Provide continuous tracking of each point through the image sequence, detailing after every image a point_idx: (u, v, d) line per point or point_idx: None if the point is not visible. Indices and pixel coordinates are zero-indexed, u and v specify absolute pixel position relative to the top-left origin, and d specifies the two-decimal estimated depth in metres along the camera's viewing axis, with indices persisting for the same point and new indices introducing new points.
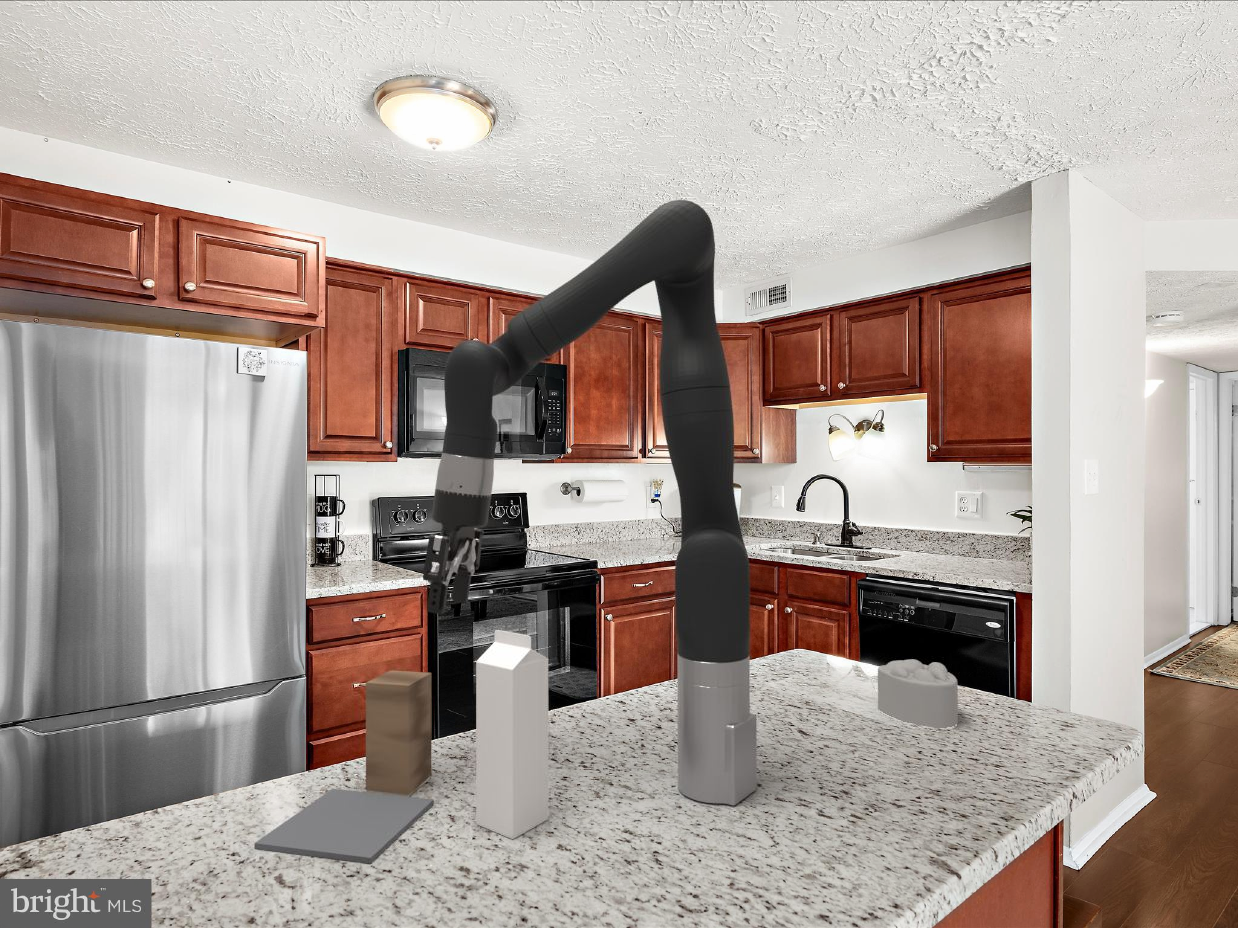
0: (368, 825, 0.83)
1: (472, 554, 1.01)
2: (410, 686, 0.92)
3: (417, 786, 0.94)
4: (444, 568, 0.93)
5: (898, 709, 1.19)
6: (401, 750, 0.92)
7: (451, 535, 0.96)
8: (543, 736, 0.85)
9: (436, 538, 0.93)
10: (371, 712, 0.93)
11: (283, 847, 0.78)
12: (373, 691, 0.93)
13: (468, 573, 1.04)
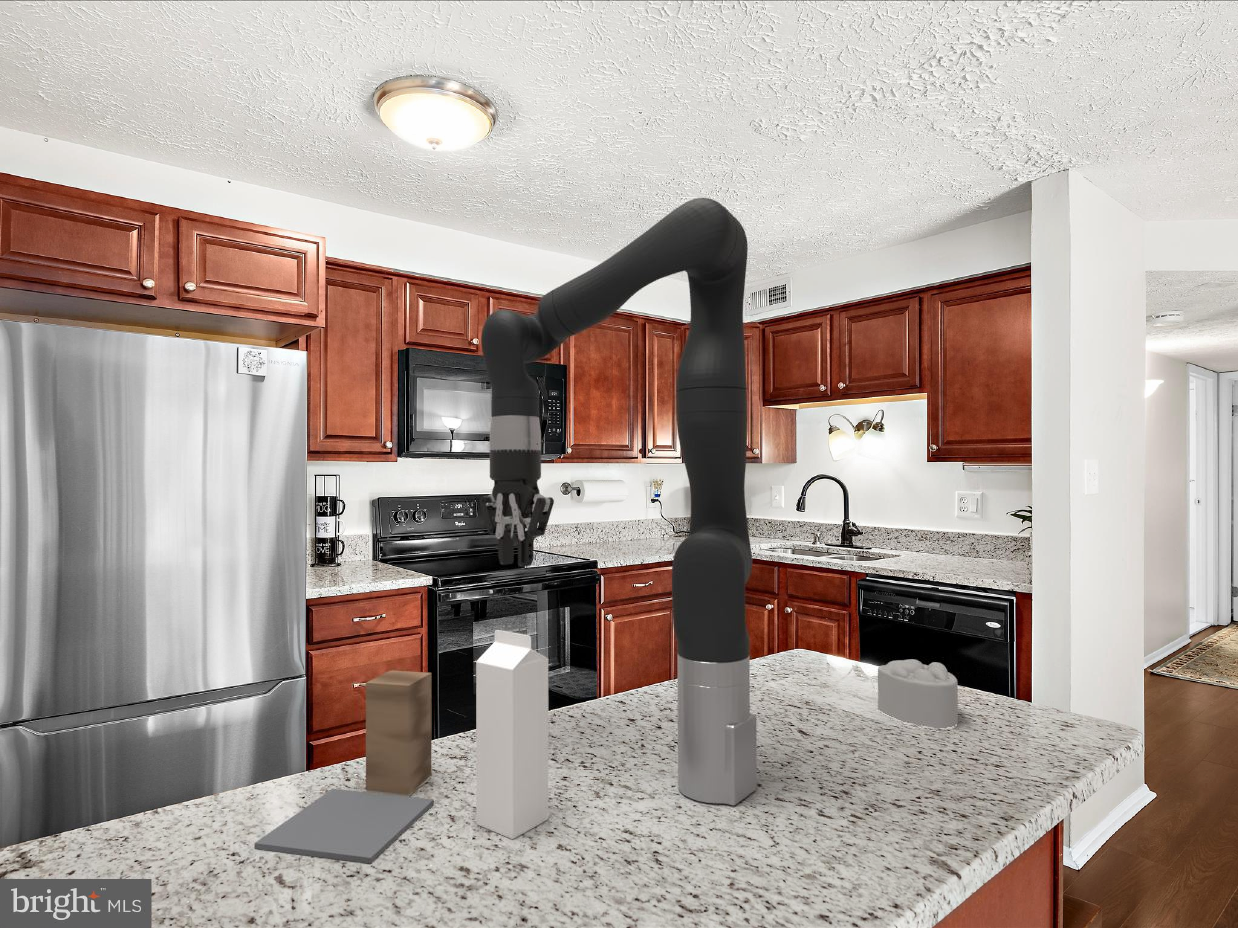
0: (368, 825, 0.83)
1: None
2: (410, 686, 0.92)
3: (417, 786, 0.94)
4: None
5: (898, 709, 1.19)
6: (401, 750, 0.92)
7: (539, 491, 1.06)
8: (543, 736, 0.85)
9: (546, 502, 1.04)
10: (371, 712, 0.93)
11: (283, 847, 0.78)
12: (373, 691, 0.93)
13: (510, 535, 1.10)
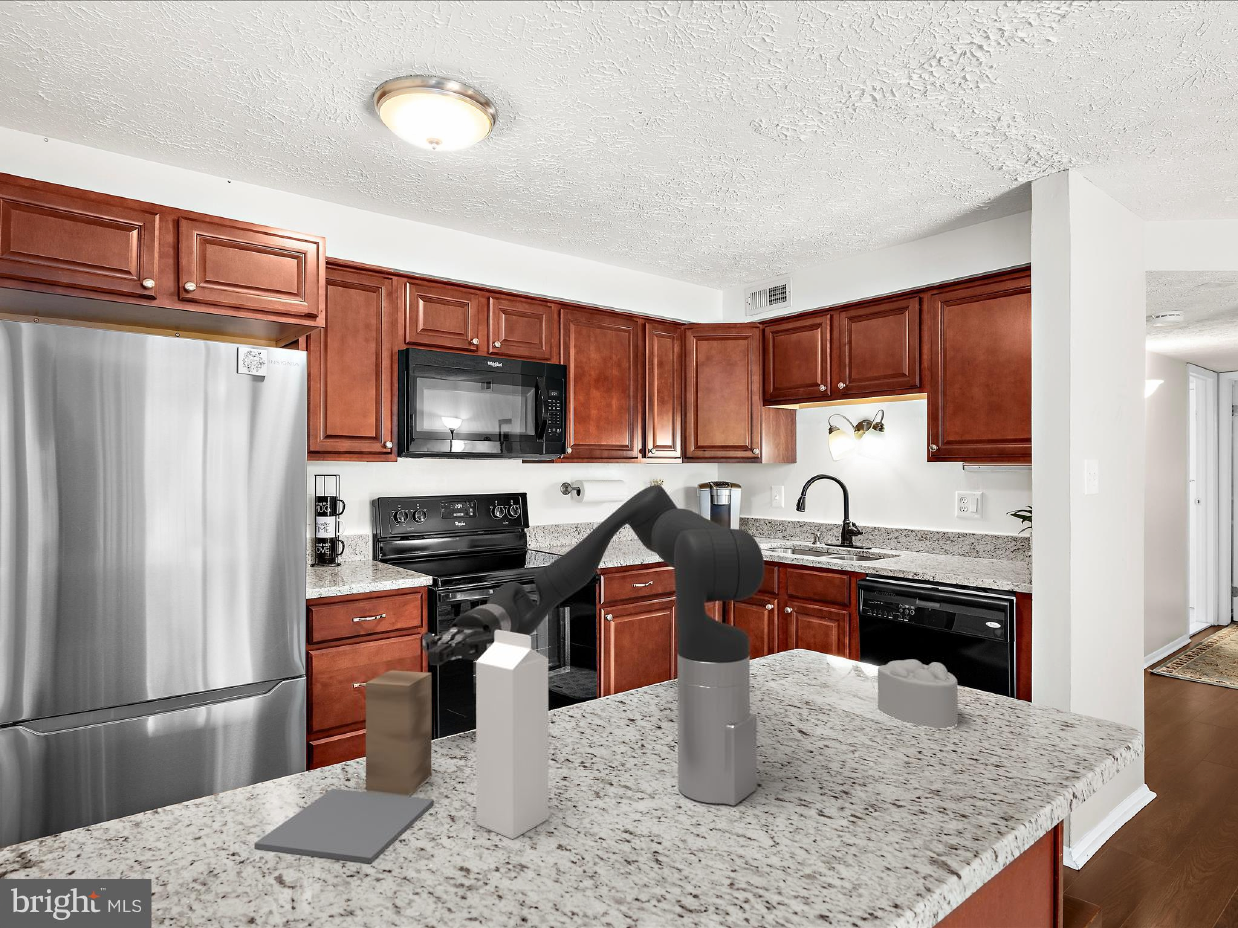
0: (368, 825, 0.83)
1: None
2: (410, 686, 0.92)
3: (417, 786, 0.94)
4: None
5: (898, 709, 1.19)
6: (401, 750, 0.92)
7: None
8: (543, 736, 0.85)
9: None
10: (371, 712, 0.93)
11: (283, 847, 0.78)
12: (373, 691, 0.93)
13: None
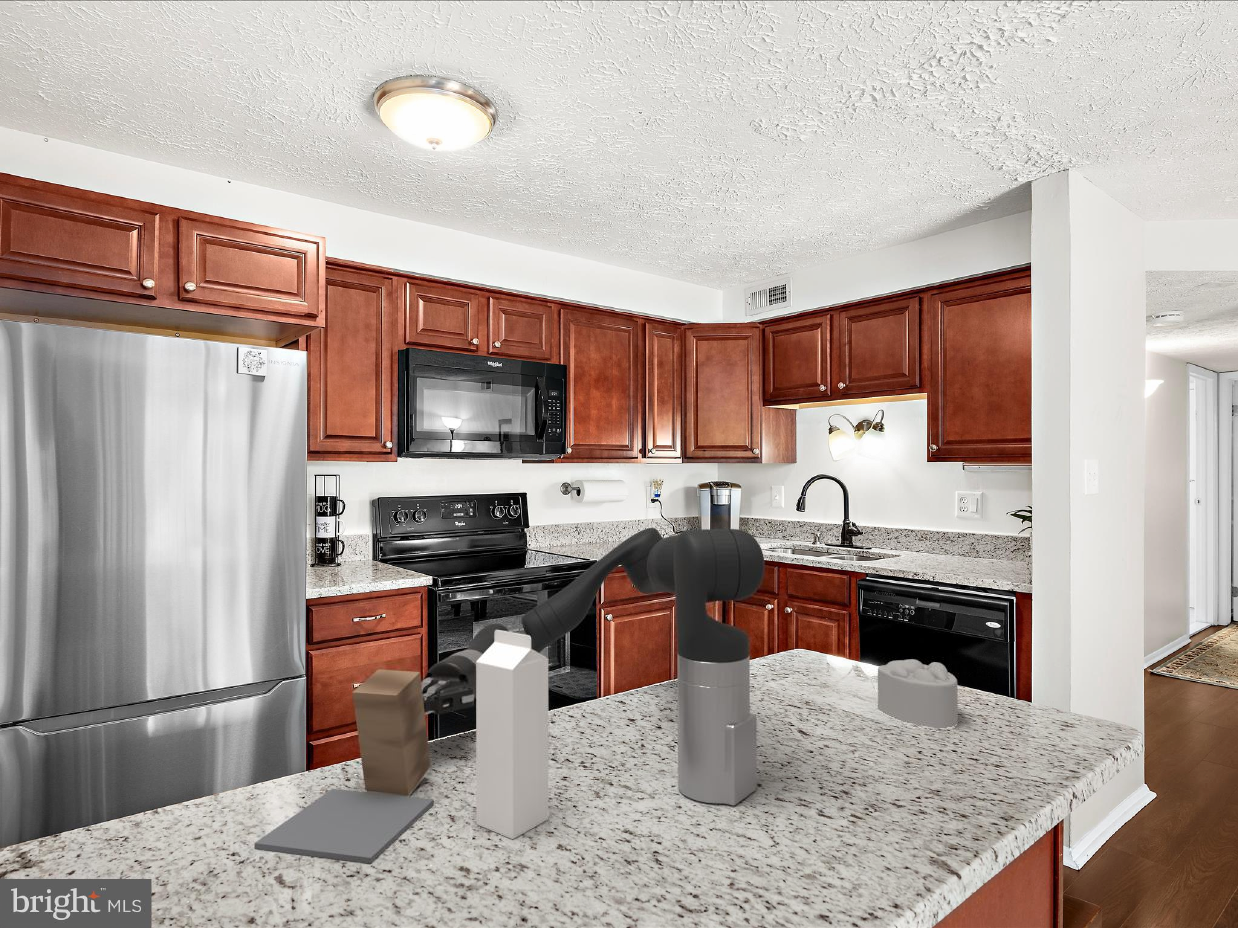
0: (368, 825, 0.83)
1: None
2: (398, 695, 0.89)
3: (416, 783, 0.94)
4: None
5: (898, 709, 1.19)
6: (396, 755, 0.91)
7: None
8: (543, 736, 0.85)
9: (472, 696, 1.04)
10: (361, 720, 0.91)
11: (283, 847, 0.78)
12: (361, 700, 0.90)
13: None
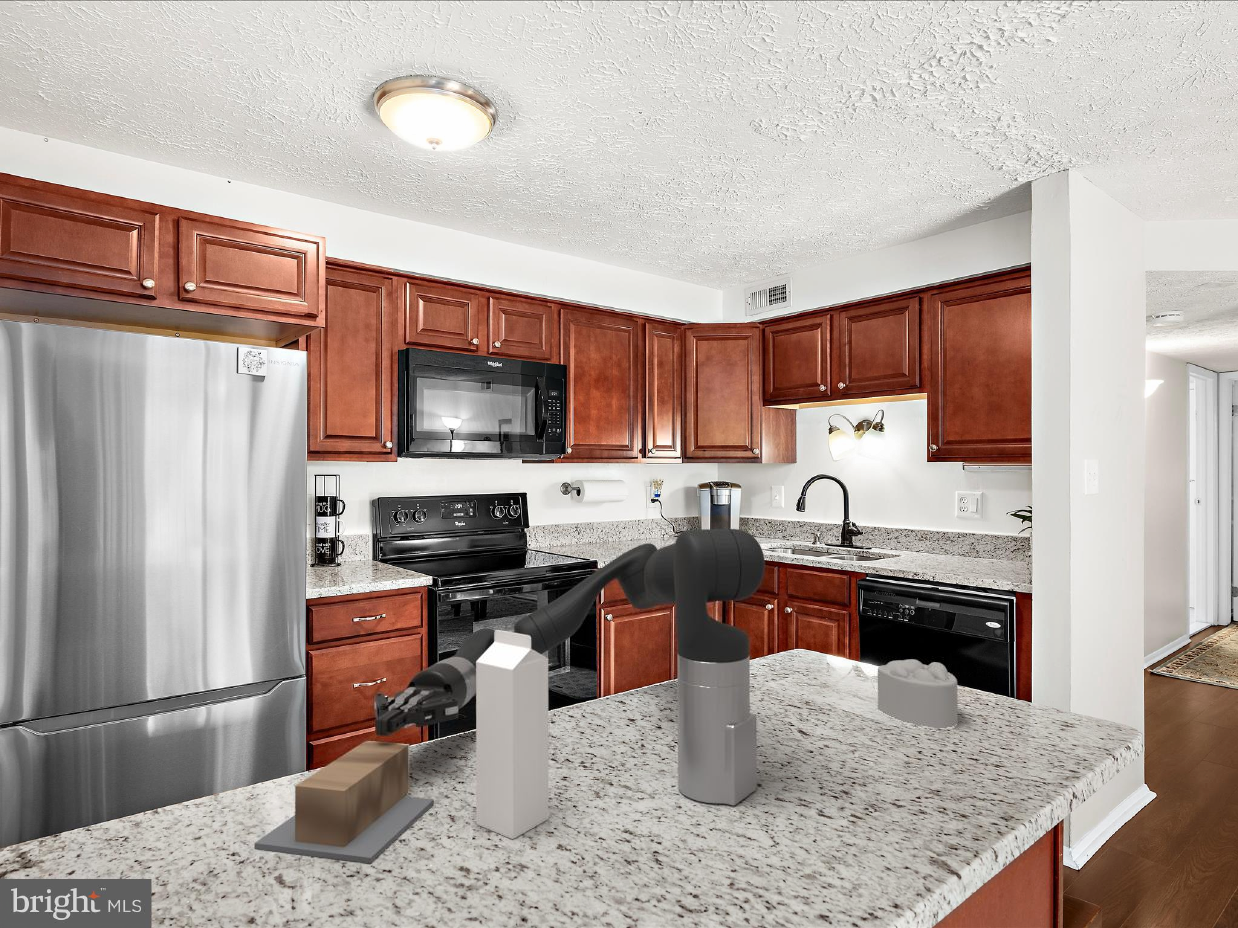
0: None
1: None
2: (345, 841, 0.78)
3: (407, 774, 0.91)
4: None
5: (898, 709, 1.19)
6: None
7: None
8: (543, 736, 0.85)
9: (456, 707, 0.98)
10: None
11: (283, 847, 0.78)
12: None
13: None
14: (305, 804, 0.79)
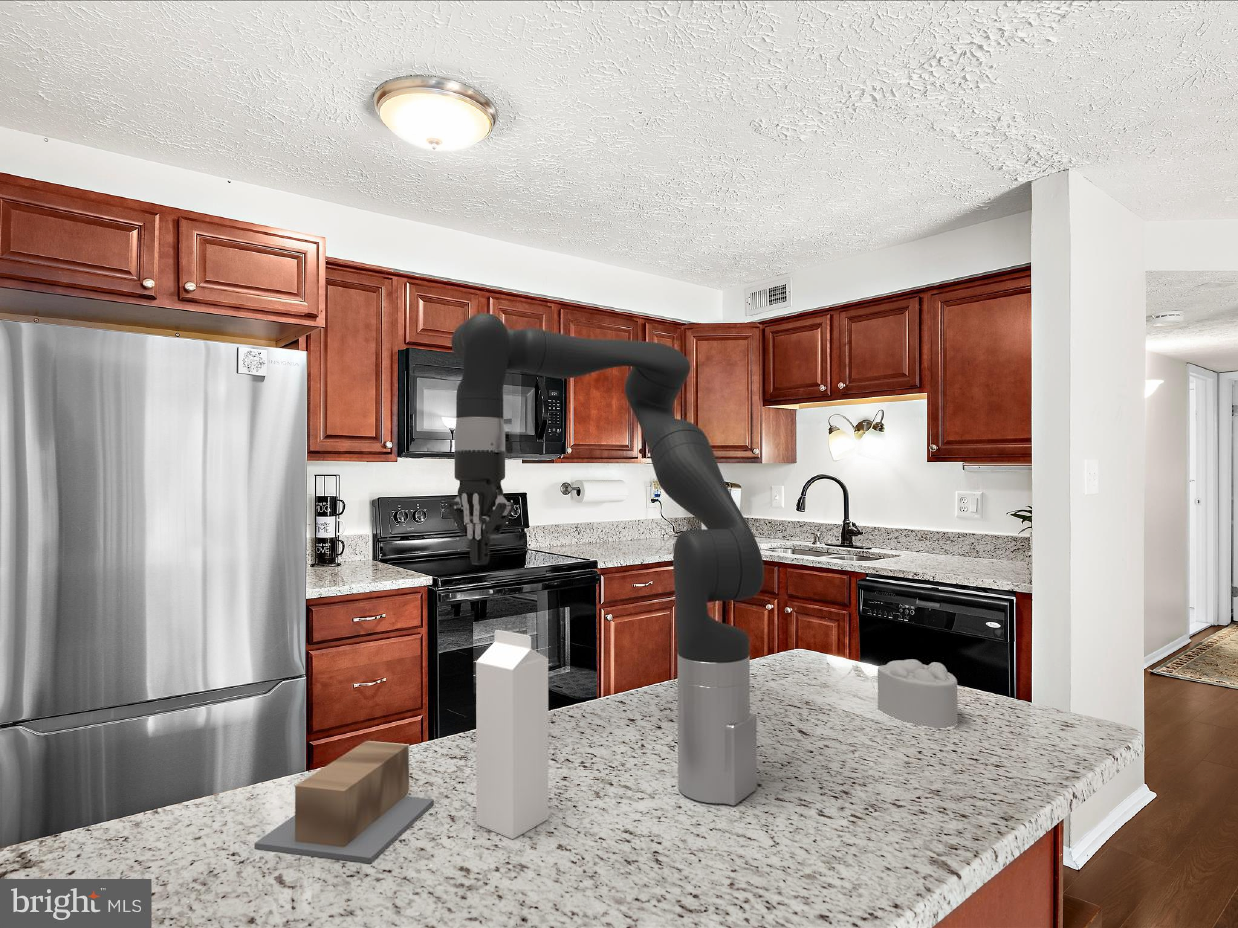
0: None
1: (474, 509, 1.08)
2: (345, 841, 0.78)
3: (407, 774, 0.91)
4: (459, 523, 1.11)
5: (898, 709, 1.19)
6: None
7: None
8: (543, 736, 0.85)
9: None
10: None
11: (283, 847, 0.78)
12: None
13: None
14: (305, 804, 0.79)
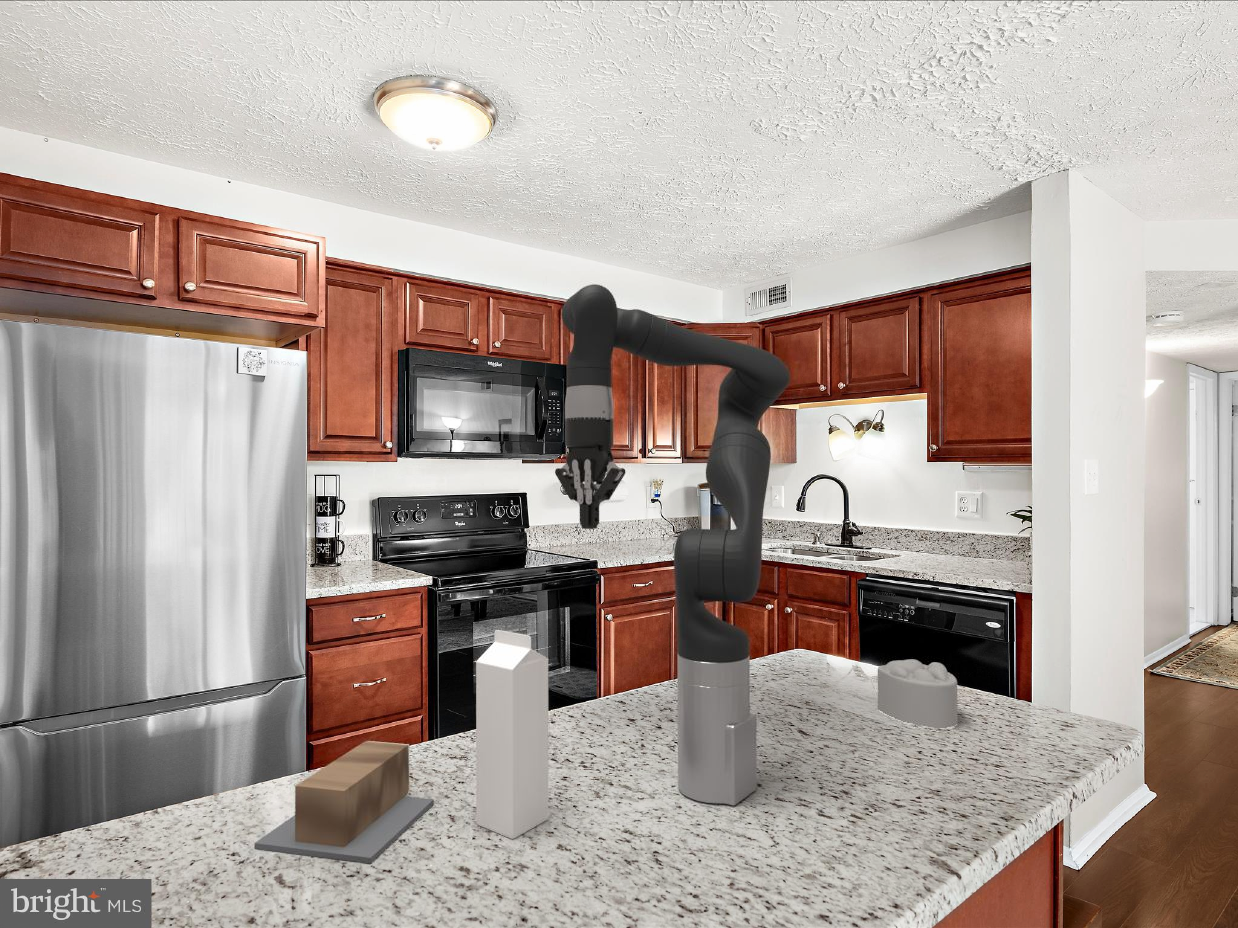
0: None
1: (585, 474, 1.12)
2: (345, 841, 0.78)
3: (407, 774, 0.91)
4: (568, 489, 1.15)
5: (898, 709, 1.19)
6: None
7: None
8: (543, 736, 0.85)
9: None
10: None
11: (283, 847, 0.78)
12: None
13: None
14: (305, 804, 0.79)
